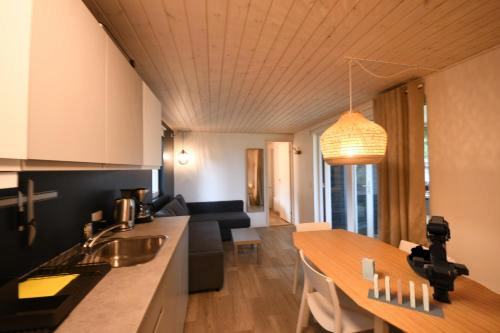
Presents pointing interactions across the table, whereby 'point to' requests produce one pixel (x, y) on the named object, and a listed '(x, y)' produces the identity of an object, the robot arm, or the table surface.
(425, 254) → the bowl of black rocks
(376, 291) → the domino
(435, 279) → the robot arm
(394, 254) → the table surface
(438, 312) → the domino mat
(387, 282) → the domino
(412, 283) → the domino
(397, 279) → the domino
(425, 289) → the domino
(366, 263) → the skincare box
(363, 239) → the table surface
